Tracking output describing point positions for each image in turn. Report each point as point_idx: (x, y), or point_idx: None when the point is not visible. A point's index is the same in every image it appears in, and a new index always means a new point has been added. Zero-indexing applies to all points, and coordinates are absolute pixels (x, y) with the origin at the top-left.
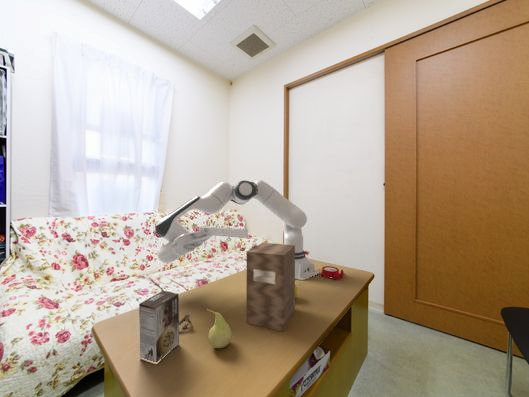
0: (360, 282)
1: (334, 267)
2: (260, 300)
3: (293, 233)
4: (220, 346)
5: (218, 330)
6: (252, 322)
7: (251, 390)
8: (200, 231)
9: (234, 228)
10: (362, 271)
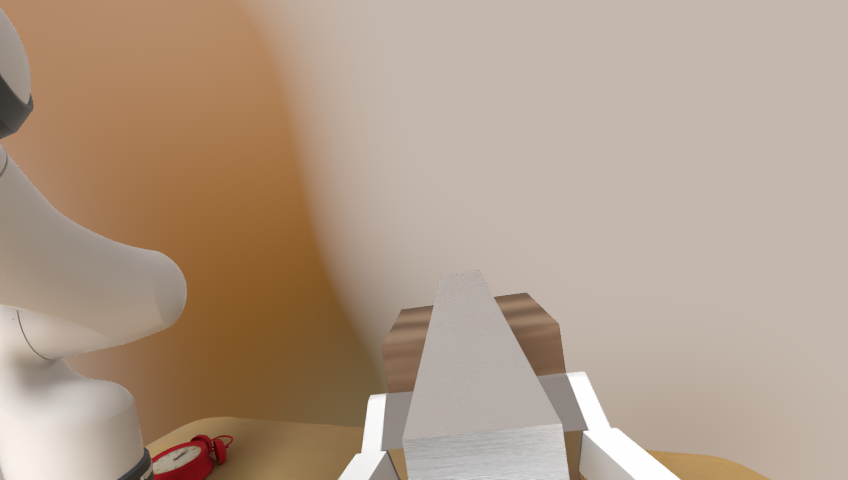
0: (255, 424)
1: (164, 452)
2: None
3: (85, 385)
4: None
5: None
6: None
7: (760, 477)
8: (608, 437)
9: (437, 289)
10: (180, 428)
